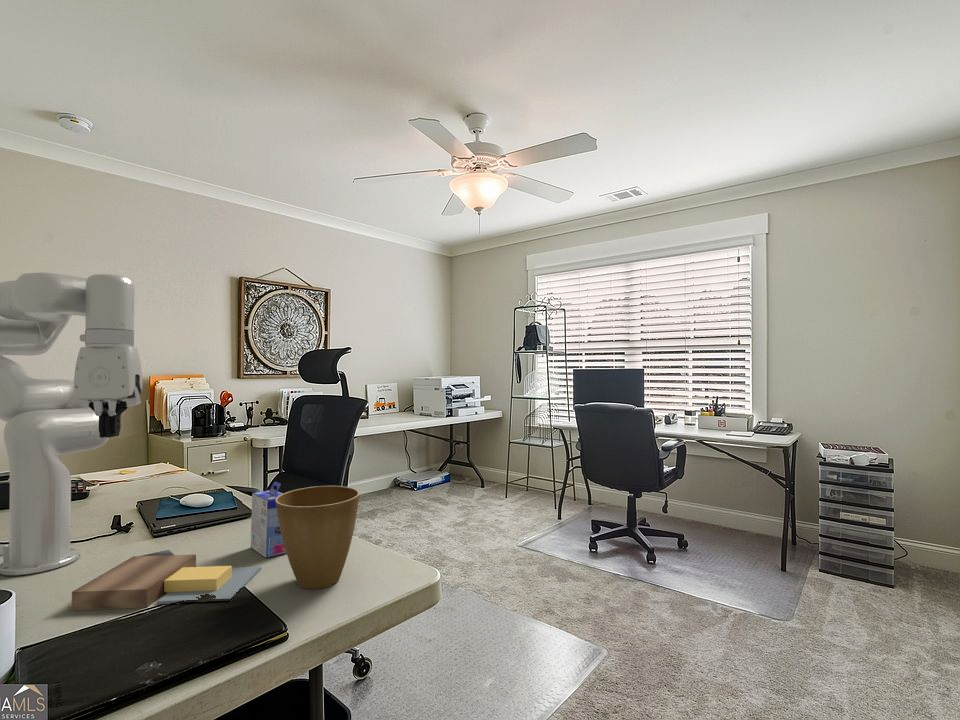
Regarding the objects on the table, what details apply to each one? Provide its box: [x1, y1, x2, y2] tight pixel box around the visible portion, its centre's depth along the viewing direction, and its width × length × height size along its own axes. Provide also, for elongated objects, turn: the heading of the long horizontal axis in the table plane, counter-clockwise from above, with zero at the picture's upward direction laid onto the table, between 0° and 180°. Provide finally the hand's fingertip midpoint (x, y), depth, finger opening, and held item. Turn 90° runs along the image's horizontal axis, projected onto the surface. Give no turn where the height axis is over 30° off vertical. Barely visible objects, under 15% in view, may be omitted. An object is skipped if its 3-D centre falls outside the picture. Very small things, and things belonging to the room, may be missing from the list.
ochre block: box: [164, 565, 233, 593], centre depth 91 cm, size 9×6×2 cm, turn 93°
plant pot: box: [275, 485, 361, 590], centre depth 93 cm, size 15×15×16 cm
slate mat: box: [156, 566, 262, 605], centre depth 91 cm, size 12×14×1 cm
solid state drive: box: [141, 549, 175, 556], centre depth 104 cm, size 7×10×1 cm
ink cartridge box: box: [250, 481, 287, 558], centre depth 110 cm, size 10×6×14 cm, turn 43°
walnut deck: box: [71, 553, 197, 611], centre depth 91 cm, size 12×16×3 cm
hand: (109, 436), depth 95 cm, fingers closed
